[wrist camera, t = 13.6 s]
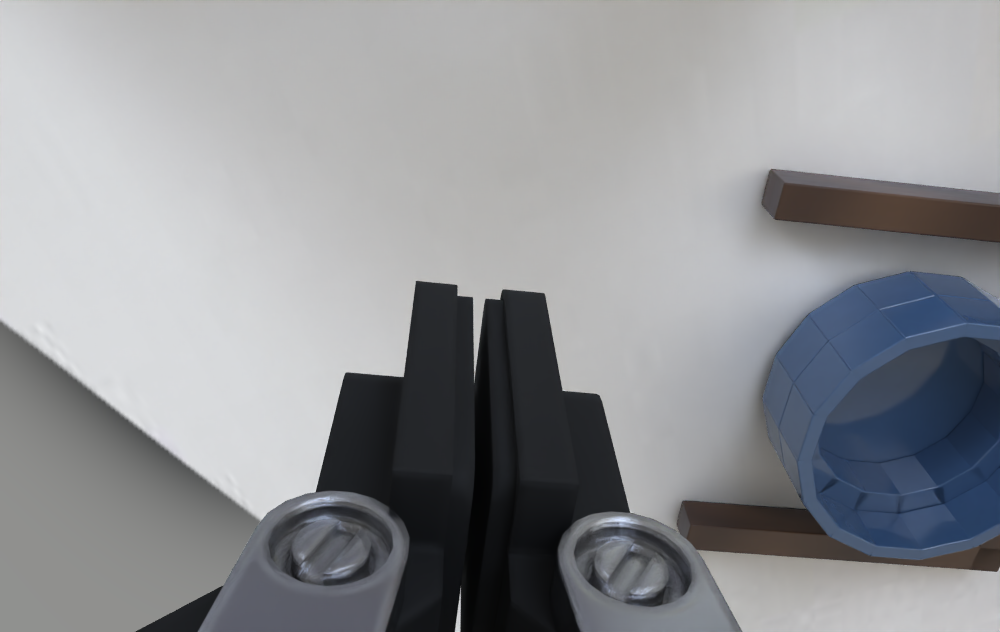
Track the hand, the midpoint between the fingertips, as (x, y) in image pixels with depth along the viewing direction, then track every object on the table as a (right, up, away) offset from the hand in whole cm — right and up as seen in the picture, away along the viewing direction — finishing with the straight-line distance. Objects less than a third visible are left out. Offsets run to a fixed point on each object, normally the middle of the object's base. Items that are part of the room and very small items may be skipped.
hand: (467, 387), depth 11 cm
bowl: (+18, -2, +27) cm, 33 cm away
